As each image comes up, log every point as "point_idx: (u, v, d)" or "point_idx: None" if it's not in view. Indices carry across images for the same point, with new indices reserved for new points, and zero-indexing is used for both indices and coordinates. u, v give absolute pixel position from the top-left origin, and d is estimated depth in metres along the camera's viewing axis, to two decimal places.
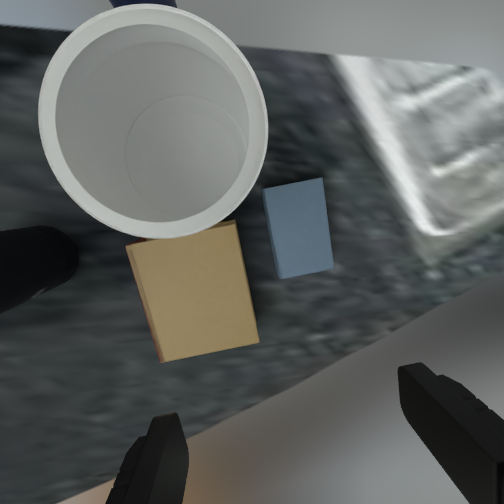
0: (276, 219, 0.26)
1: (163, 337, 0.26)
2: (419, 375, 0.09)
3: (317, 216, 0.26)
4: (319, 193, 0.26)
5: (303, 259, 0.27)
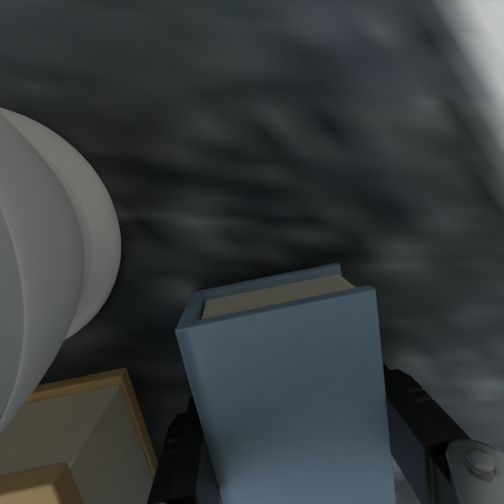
0: (223, 417, 0.08)
1: None
2: None
3: (355, 403, 0.08)
4: (364, 338, 0.08)
5: None
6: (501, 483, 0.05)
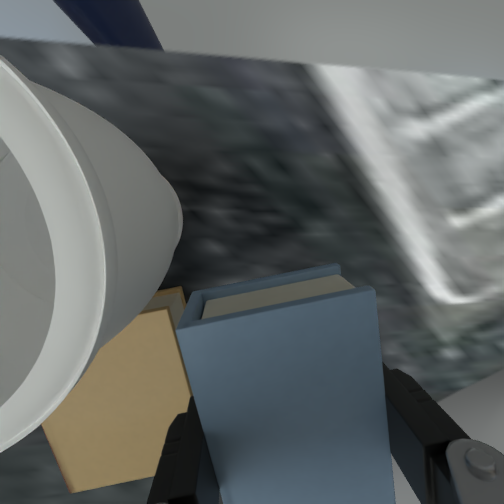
0: (223, 417, 0.08)
1: (72, 461, 0.18)
2: None
3: (355, 403, 0.08)
4: (364, 338, 0.08)
5: None
6: (501, 483, 0.05)
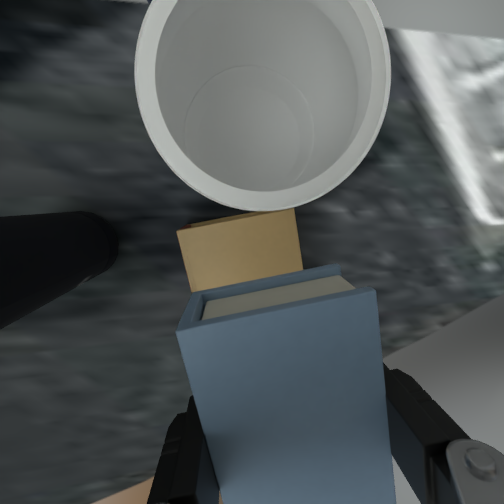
0: (223, 418, 0.08)
1: None
2: None
3: (355, 404, 0.08)
4: (364, 339, 0.08)
5: None
6: (501, 483, 0.05)
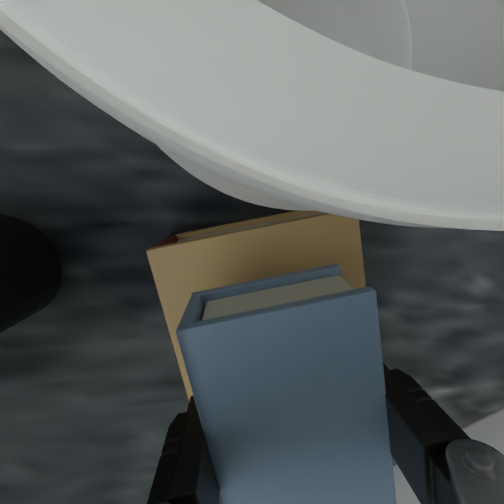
0: (223, 418, 0.08)
1: None
2: None
3: (355, 404, 0.08)
4: (364, 339, 0.08)
5: None
6: (500, 483, 0.05)
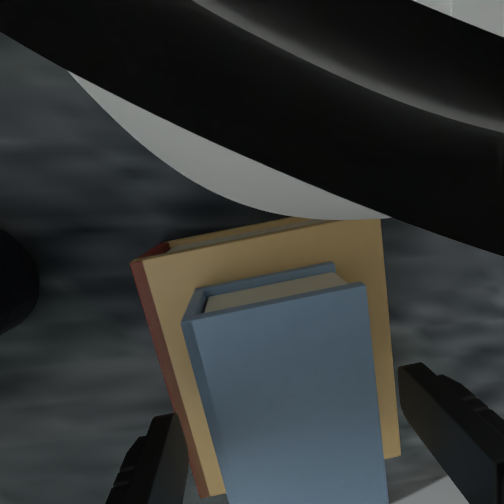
0: (224, 404, 0.09)
1: (209, 451, 0.12)
2: (419, 375, 0.09)
3: (348, 392, 0.09)
4: (355, 330, 0.08)
5: (306, 498, 0.10)
6: None
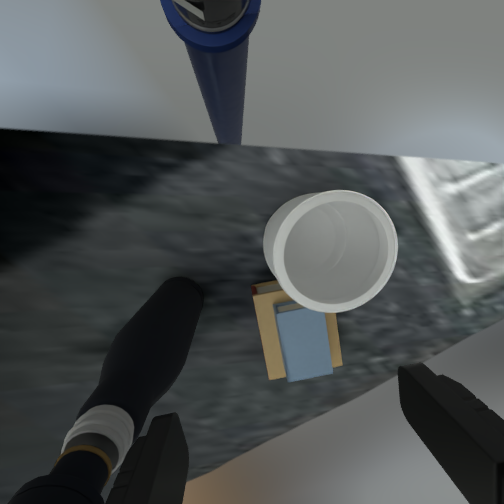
0: (285, 336, 0.32)
1: (273, 361, 0.35)
2: (419, 375, 0.09)
3: (319, 334, 0.32)
4: (321, 316, 0.31)
5: (307, 366, 0.33)
6: None
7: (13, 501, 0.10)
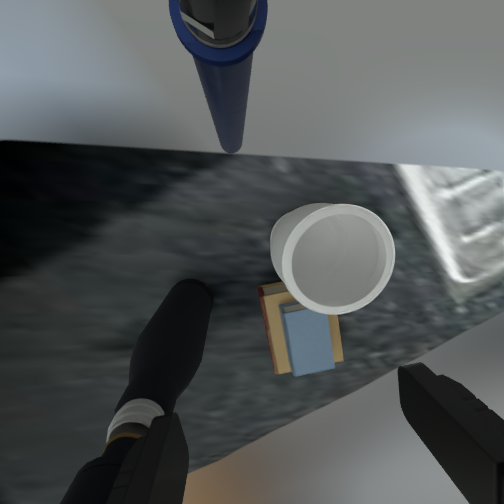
0: (291, 335, 0.34)
1: (279, 357, 0.38)
2: (419, 375, 0.09)
3: (322, 332, 0.34)
4: (324, 316, 0.34)
5: (311, 362, 0.35)
6: None
7: (80, 476, 0.13)
